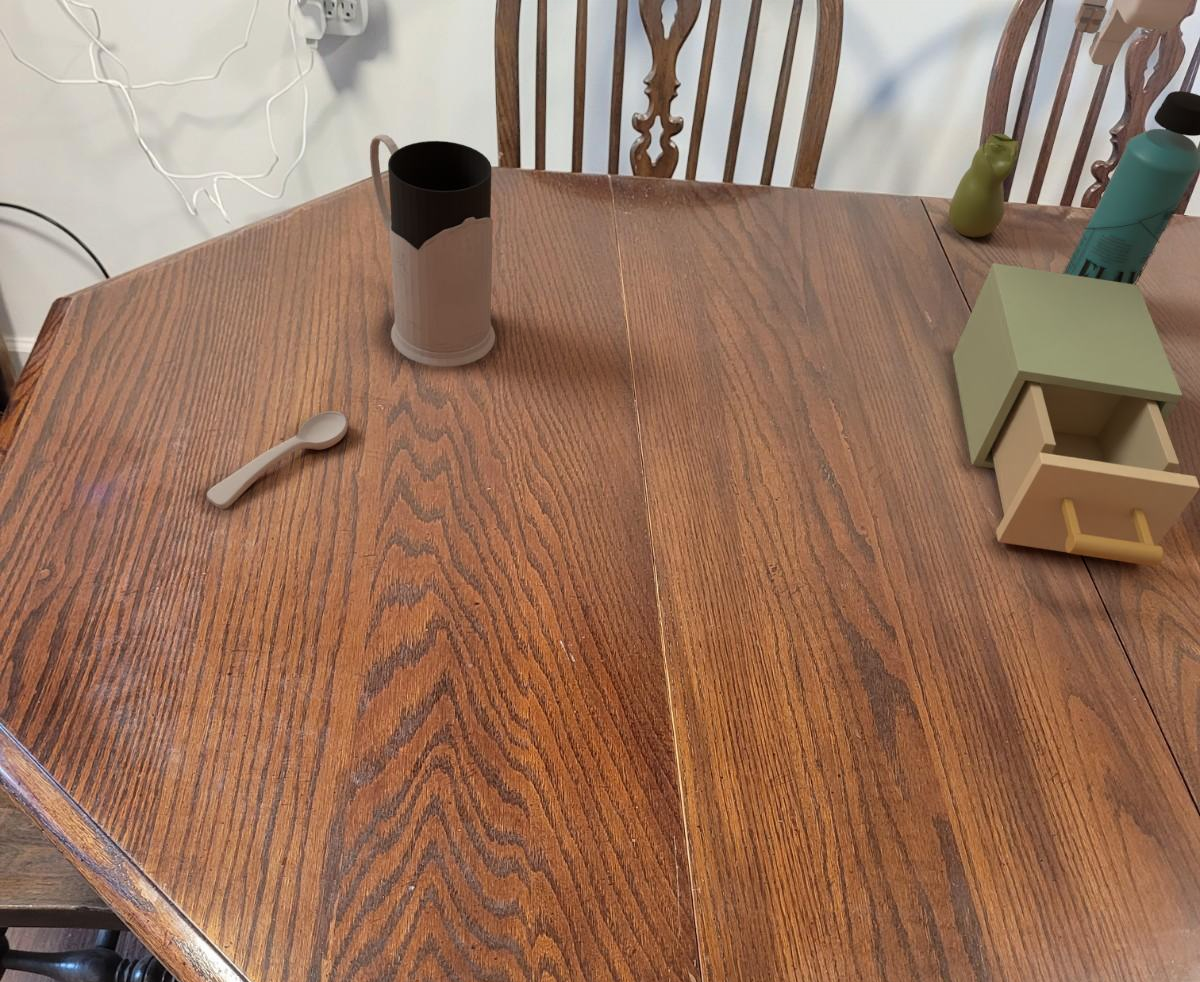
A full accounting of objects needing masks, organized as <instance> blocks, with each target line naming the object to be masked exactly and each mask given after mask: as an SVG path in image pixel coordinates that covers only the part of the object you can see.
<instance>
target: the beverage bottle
mask: <svg viewBox="0 0 1200 982" xmlns="http://www.w3.org/2000/svg"><path fill="white" fill-rule="evenodd" d="M1154 121H1155V122H1156V123H1157V125H1159V126H1160V127H1162V128H1153V129H1152V128H1151V129H1149V130H1146V131H1143V132H1141V133H1139V134H1136V135H1134V136H1133V137H1131V138H1129V139H1128V141H1127V143H1126V145H1125V148H1124V151H1123V153H1122V154H1121V157H1120V159H1119V161H1118V163H1117V165H1116V167H1115V169H1114V170H1113V173H1112V175H1111V177H1110V179H1109V181H1108V184H1107V185H1106V187H1105V189H1104V191H1103V193H1102V196H1101V197H1100V199H1099V201H1098V204H1097V206H1096V208H1095V210H1094V212H1093V214H1092V216H1091V218H1090V220H1089V222H1088V224H1087V225H1086V227H1085V228H1083V232H1082V234H1081V236H1080V237H1079V240H1078V242H1077V244H1076V245H1075V248H1074V250H1073V252H1072V254H1070V255H1069V257H1068V260H1067V261H1066V264H1065V266H1064V269H1062V271H1061V273H1062V274H1068V275H1075V276H1081V277H1088V278H1094V279H1101V280H1107V281H1114V282H1121V283H1127V284H1134V285H1137V283H1138V281H1139V280H1140V279H1141V276H1142V274H1143V272H1144V271H1145V269H1146V267H1147V265H1148V263H1149V261H1150V258H1151V257H1152V256H1153V255H1154V253H1155V252H1156V245H1157V244H1160V241H1159V240H1160V238H1163V237H1164V236H1163V234H1164V233H1165V231H1166V230H1167V227H1169V226H1170V225H1171V222H1172V220H1173V219H1174V217H1175V215H1176V213H1177V211H1178V210H1179V208H1180V206H1181V201H1182V199H1183V198H1184V197H1185V196H1186V195H1187V193H1188V192H1186V191H1187V189H1188V187H1189V185H1190V183H1191V182H1192V180H1193V178H1194V176H1195V175H1196V173H1197V172H1198V171H1199V169H1200V151H1199V149H1198V147H1197V145H1196V143H1195V142H1194V141H1193V140H1192V139H1191V138H1189V137H1197V136H1200V95H1199V94H1197V93H1193V92H1189V91H1181V90H1175V91H1171V92H1169V93H1168V94H1166V97H1165V98H1164V100H1163V101H1162V104H1161V105H1160V107H1159V108H1158V109H1157V111H1156V113H1155V114H1154ZM1188 136H1189V137H1188ZM1161 236H1162V237H1161Z"/></svg>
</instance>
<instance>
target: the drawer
mask: <svg viewBox="0 0 1200 982" xmlns="http://www.w3.org/2000/svg"><path fill="white" fill-rule="evenodd" d="M991 451H992V456H993V461H994V466H995V469H994V471H995V476H996V477H995V478H996V483H997V486H998V491H999V496H1000V501H1001V507H1002V512H1003V517H1002V519H1001V521H1000V523H999V525H998V527H997V528H996V530H995V532H996V538H997V542H998V543H1003V544H1008V545H1009V544H1010V545H1017V546H1022V547H1027V548H1028V547H1029V548H1034V549H1035V548H1036V549H1042V550H1049V551H1054V552H1055V551H1056V552H1063V553H1067V554H1073V555H1078V556H1086V557H1091V558H1099V559H1105V560H1110V561H1118V562H1123V563H1124V562H1125V563H1131V564H1136V565H1137V564H1138V565H1144V566H1150V567H1158V566H1159V565H1160V564H1161V563H1162V560H1163V558H1164V549H1163V547H1162V546H1161V545H1160V543H1161V542H1162V540H1163V539H1164V538H1165V536H1166V535H1167V534H1168V532H1169V531H1170V530H1171V528H1172V527H1173V525H1174V524H1176V521H1177V520H1178V519H1179V517H1180V516H1181V515H1182V513H1183V512H1184V511H1185V509H1186V508H1187V506H1189V504H1190V502H1191V501H1192V500H1193V499H1194V497H1195V496H1196V494H1197V493H1198V491H1199V490H1200V483H1199V481H1198V478H1197V476H1196V475H1190V474H1184V473H1177V472H1175V471H1176V470H1177V468H1178V467H1179V465H1180V461H1179V459H1178V456H1177V454H1176V451H1175V449H1174V446H1173V443H1172V441H1171V437H1170V435H1169V432H1168V430H1167V427H1166V424H1165V423H1164V421H1163V418H1162V416H1161V413H1160V410H1159V408H1158V405H1157V402H1156V400H1151V399H1144V398H1138V397H1131V396H1125V395H1118V394H1112V393H1105V392H1099V391H1092V390H1086V389H1079V388H1073V387H1066V386H1060V385H1053V384H1047V383H1040V382H1034V381H1027V380H1025V382H1024V384H1023V386H1022V388H1021V390H1020V392H1019V394H1018V396H1017V398H1016V400H1015V402H1014V404H1013V405H1012V407H1011V409H1010V411H1009V413H1008V415H1007V417H1006V419H1005V421H1004V423H1003V425H1002V427H1001V429H1000V431H999V433H998V435H997V437H996V439H995V441H994V443H993V445H992V447H991Z"/></svg>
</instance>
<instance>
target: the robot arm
mask: <svg viewBox="0 0 1200 982" xmlns="http://www.w3.org/2000/svg"><path fill="white" fill-rule="evenodd" d="M1191 1H1192V0H1112V3H1111V6H1110V8H1109V10H1107V8H1106V7H1107V4H1108V2H1109V0H1081V1H1080V3H1079V6H1078V9H1077V11H1076V12H1075V16H1074V18H1073V23H1074V25H1075V27H1076V30H1077V31H1078V32H1080V33H1086V34H1092V35H1093V34H1094V37H1093V40H1092V42H1091V44H1090V46H1089V49H1088V55H1089V58H1090V60H1091V62H1092V63H1093V64H1094V65H1098V66H1105V67H1110V66H1112V65H1114V64H1115V63H1116V61H1117V58H1118V57H1119V55H1120V52H1121V49H1123V45H1124V44H1125V43H1126V42H1127V41H1128V40H1129V38H1131V36H1132V34H1133V33H1134V32H1135V31H1136V30H1137V29H1138V28H1141V29H1146V30H1154V31H1162V32H1168V31H1171V30H1172V29H1173V28H1174V27H1176V25H1177V24H1178V23H1179V22H1180V21H1181V20H1182V19H1183V17H1184V15H1185V13H1186V11H1187V9H1188V8H1189V5H1190V3H1191ZM1107 12H1108V15H1109V16H1108V18H1107V20H1106V22H1105V23H1104V26H1103V27H1102V29H1101V31H1099V30H1100V28H1101V25H1102V22H1103V21H1104V19H1105V16H1106V14H1107Z"/></svg>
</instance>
